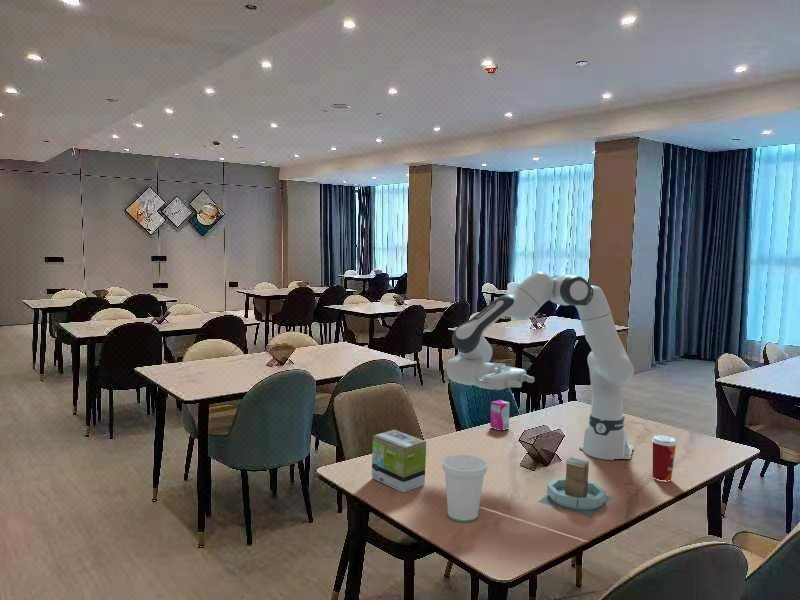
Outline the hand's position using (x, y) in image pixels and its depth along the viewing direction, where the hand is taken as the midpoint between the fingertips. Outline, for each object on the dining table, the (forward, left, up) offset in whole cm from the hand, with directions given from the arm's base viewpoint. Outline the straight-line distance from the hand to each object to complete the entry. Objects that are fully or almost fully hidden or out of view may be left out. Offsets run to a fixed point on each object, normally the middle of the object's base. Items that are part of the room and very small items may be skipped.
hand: (527, 382), depth 193 cm
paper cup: (-30, +36, -32) cm, 57 cm away
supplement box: (-43, -31, -32) cm, 62 cm away
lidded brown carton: (+6, +20, -31) cm, 37 cm away
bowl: (+6, +20, -32) cm, 38 cm away
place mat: (+6, +20, -32) cm, 38 cm away
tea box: (+30, -29, -32) cm, 53 cm away
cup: (+37, -1, -32) cm, 49 cm away
